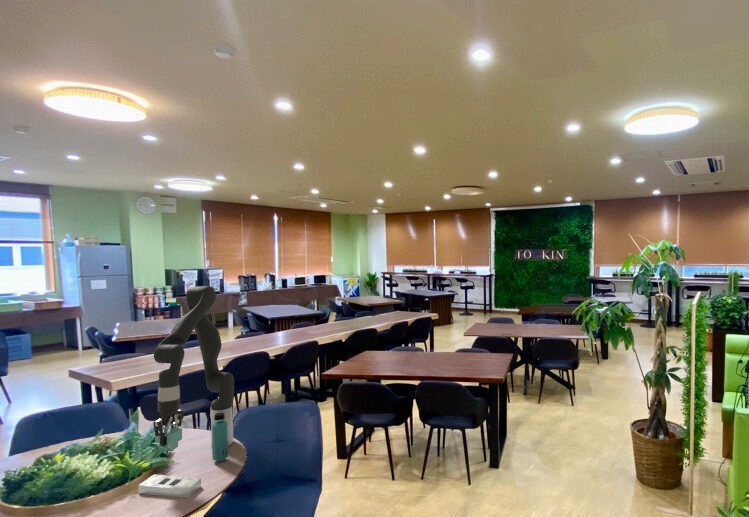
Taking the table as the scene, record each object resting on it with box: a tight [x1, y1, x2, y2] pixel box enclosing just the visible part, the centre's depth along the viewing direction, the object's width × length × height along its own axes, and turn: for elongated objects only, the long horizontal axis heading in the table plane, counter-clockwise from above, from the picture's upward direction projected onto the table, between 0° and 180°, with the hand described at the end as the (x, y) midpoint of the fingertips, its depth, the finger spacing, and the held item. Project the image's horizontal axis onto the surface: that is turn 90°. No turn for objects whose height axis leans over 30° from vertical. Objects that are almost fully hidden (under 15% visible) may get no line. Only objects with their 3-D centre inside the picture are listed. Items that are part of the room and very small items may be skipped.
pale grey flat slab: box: [137, 474, 202, 499], centre depth 156 cm, size 8×20×3 cm, turn 79°
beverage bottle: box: [211, 413, 229, 462], centre depth 179 cm, size 6×7×20 cm
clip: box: [154, 427, 183, 451], centre depth 159 cm, size 8×5×6 cm
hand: (168, 442), depth 159 cm, fingers closed on clip, 5 cm apart
